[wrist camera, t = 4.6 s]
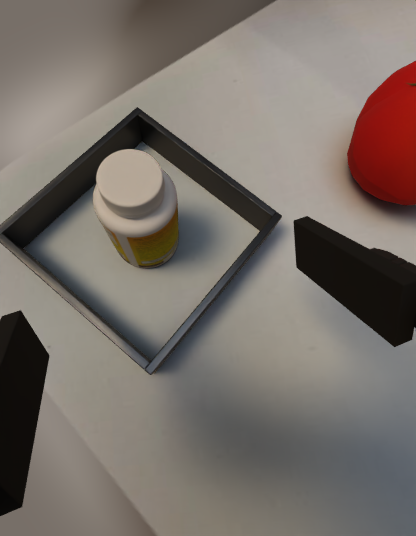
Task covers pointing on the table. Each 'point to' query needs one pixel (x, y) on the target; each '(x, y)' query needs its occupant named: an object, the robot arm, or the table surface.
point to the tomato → (387, 140)
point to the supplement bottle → (137, 207)
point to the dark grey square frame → (84, 177)
